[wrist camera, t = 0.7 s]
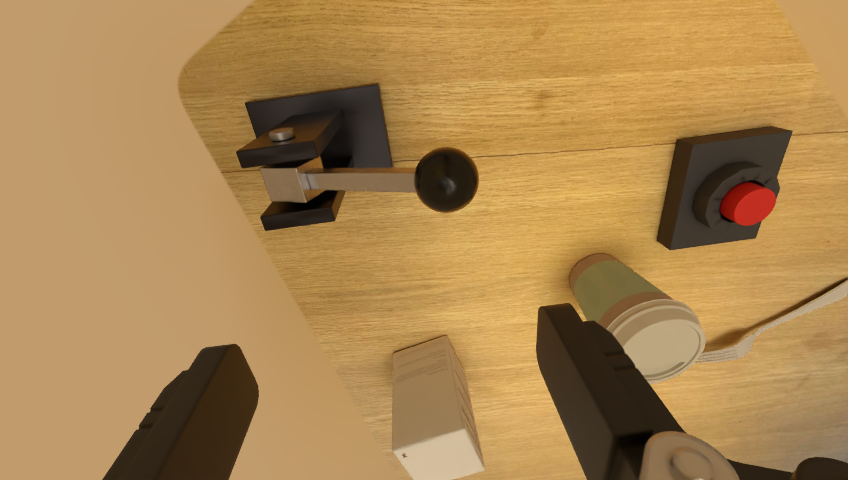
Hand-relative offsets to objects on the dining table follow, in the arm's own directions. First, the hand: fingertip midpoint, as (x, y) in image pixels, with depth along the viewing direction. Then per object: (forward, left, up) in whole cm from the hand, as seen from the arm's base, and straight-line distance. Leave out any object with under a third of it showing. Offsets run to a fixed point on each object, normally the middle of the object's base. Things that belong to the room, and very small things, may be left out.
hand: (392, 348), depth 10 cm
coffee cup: (+18, +20, -26) cm, 38 cm away
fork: (+29, +43, -26) cm, 58 cm away
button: (+9, +31, -23) cm, 39 cm away
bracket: (-1, -6, -26) cm, 27 cm away
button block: (+9, +31, -26) cm, 41 cm away
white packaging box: (+28, 0, -26) cm, 39 cm away
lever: (-1, -1, -14) cm, 15 cm away
